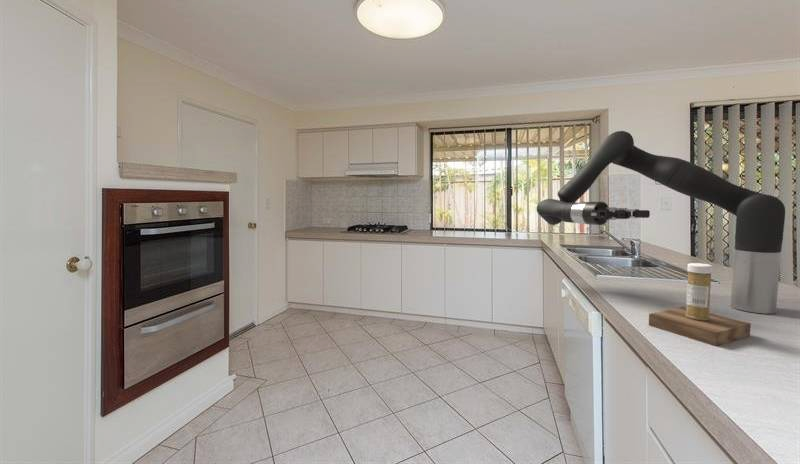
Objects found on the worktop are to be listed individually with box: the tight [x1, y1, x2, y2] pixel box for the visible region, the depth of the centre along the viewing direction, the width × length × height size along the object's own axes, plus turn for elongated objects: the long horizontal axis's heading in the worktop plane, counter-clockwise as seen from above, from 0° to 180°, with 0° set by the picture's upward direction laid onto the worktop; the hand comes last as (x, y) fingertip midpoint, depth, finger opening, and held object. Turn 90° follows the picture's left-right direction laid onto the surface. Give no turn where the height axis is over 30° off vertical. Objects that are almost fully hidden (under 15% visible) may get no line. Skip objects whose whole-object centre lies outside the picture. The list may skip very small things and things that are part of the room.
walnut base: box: [648, 306, 752, 347], centre depth 84 cm, size 14×14×3 cm
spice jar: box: [685, 262, 713, 321], centre depth 83 cm, size 5×5×13 cm
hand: (639, 214), depth 98 cm, fingers open, 8 cm apart
